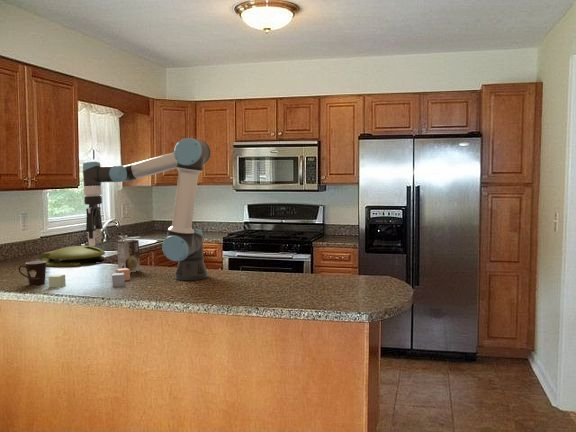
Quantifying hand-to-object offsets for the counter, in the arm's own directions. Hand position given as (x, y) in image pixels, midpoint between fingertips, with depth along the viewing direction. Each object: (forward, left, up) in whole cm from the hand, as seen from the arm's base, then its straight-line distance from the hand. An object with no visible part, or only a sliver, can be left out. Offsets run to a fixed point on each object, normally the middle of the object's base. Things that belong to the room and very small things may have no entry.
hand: (95, 244), depth 247 cm
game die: (0, 0, -1) cm, 1 cm away
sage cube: (+15, +8, -18) cm, 24 cm away
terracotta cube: (-11, -4, -18) cm, 21 cm away
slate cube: (-12, +9, -18) cm, 23 cm away
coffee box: (-9, -25, -18) cm, 32 cm away
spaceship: (+31, -63, -18) cm, 73 cm away
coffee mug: (+28, 0, -18) cm, 33 cm away
